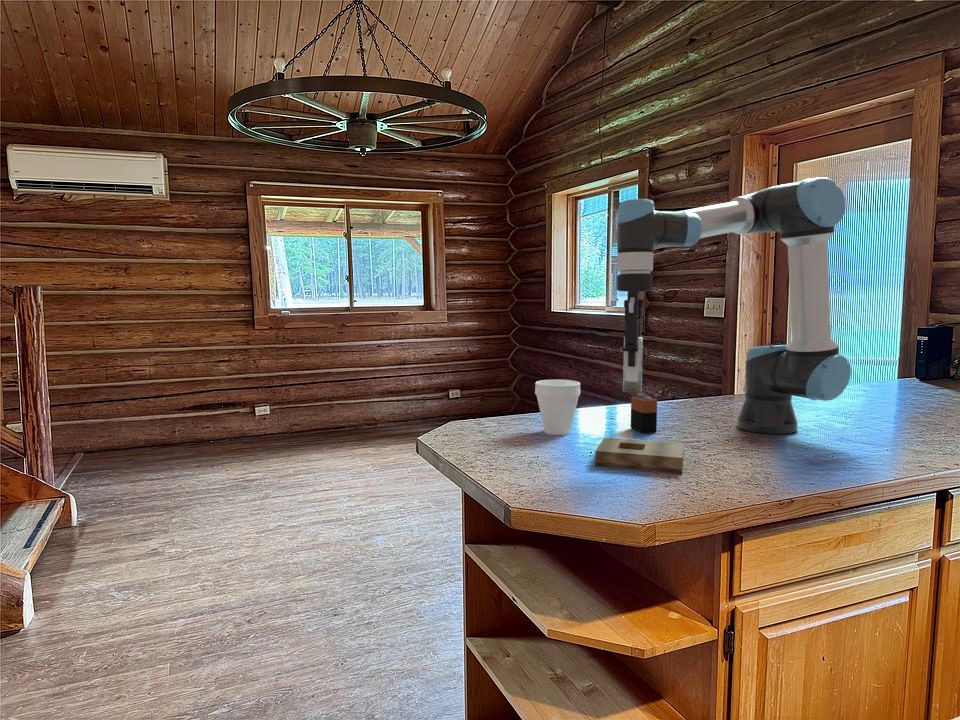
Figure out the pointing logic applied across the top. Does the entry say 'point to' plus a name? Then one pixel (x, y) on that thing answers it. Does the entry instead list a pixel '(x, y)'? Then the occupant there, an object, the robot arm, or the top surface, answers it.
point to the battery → (643, 413)
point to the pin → (637, 386)
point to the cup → (557, 404)
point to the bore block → (640, 455)
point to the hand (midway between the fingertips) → (632, 379)
